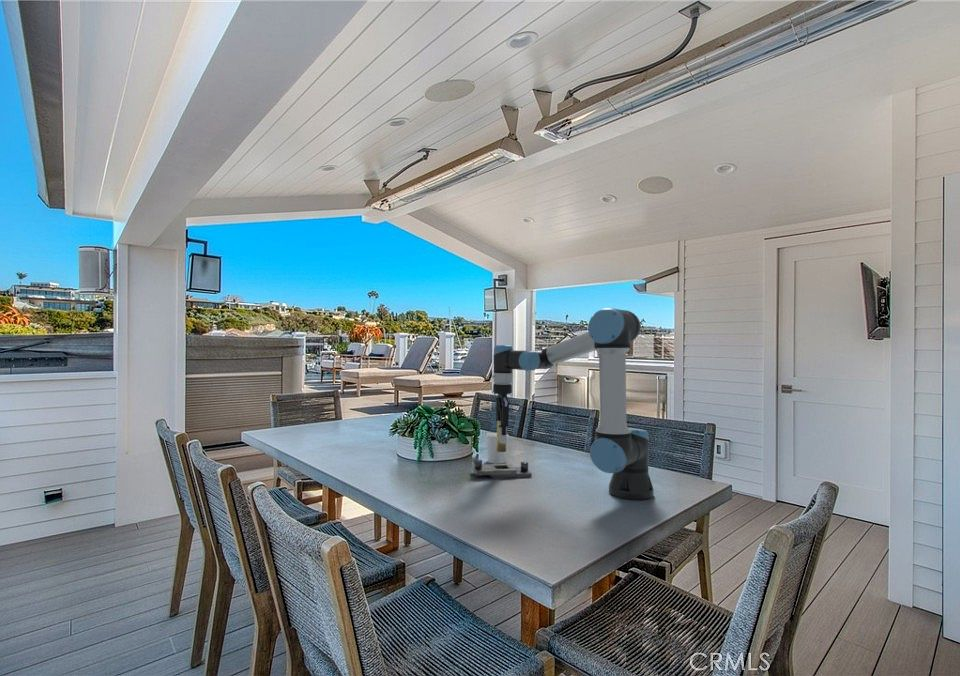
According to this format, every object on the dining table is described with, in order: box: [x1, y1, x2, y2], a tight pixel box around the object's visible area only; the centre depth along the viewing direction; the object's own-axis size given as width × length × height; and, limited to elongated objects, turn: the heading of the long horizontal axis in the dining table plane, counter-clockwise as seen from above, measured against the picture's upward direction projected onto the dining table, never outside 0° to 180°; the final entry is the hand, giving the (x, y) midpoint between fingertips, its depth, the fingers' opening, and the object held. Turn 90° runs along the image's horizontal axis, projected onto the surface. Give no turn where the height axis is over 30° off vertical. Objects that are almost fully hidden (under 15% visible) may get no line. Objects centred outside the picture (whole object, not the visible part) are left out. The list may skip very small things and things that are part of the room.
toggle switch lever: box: [496, 420, 508, 452], centre depth 192 cm, size 4×4×12 cm
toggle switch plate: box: [471, 459, 533, 480], centre depth 192 cm, size 22×10×6 cm, turn 101°
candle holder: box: [486, 432, 509, 464], centre depth 213 cm, size 10×10×12 cm
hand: (501, 441), depth 192 cm, fingers closed on toggle switch lever, 4 cm apart
